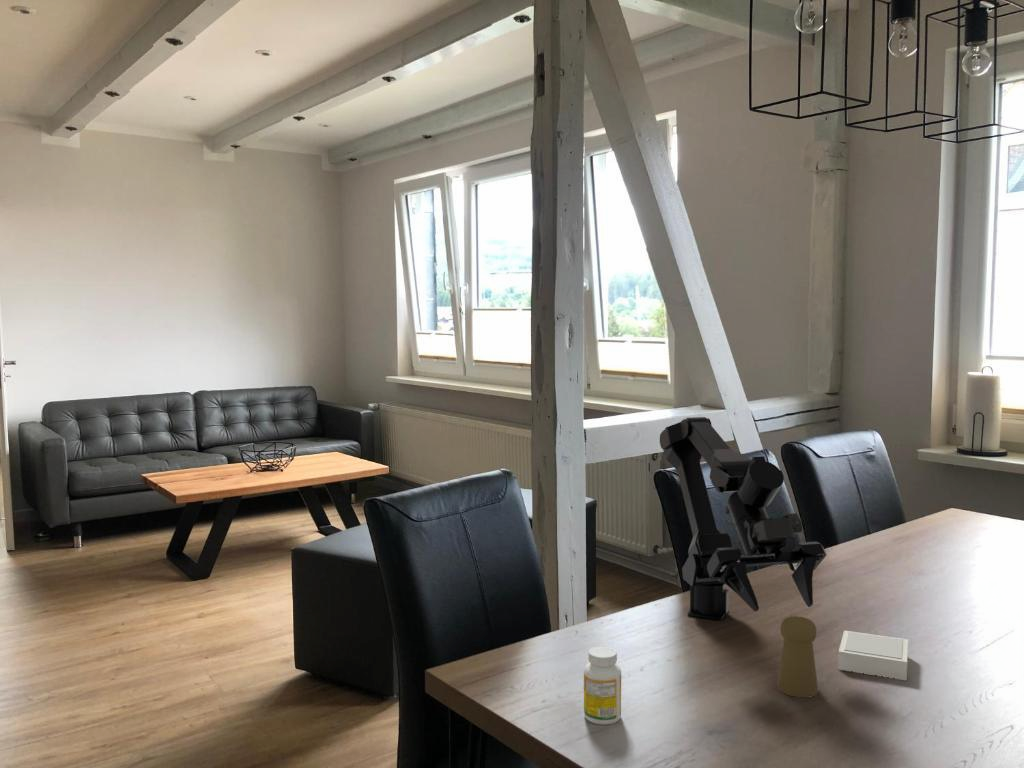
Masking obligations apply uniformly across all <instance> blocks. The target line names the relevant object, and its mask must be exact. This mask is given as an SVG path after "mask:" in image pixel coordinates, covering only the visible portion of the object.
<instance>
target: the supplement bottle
mask: <svg viewBox="0 0 1024 768" xmlns="http://www.w3.org/2000/svg"><path fill="white" fill-rule="evenodd" d="M617 656H618V655H617V650H615V649H614V648H611V647H607V646H595V647H594V646H593V647H591V648H590V649H589V650H588V657H587V659H588V663H587V664H586V665H585V666H584V668H583V669H584V670H583V713H584V717H585V719H586V720H587V721H589V722H591V723H592V724H595V725H601V726H603V725H604V726H605V725H611V724H615V723H617V722H618V721H619V720H620V719H621V716H622V670H621V667H620V666H619V665H618V664H617V661H618V657H617Z"/></svg>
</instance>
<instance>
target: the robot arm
mask: <svg viewBox="0 0 1024 768" xmlns="http://www.w3.org/2000/svg"><path fill="white" fill-rule="evenodd" d="M659 445H660V448H661V449H662V451H663V454H664V457H665V459H666V461H667V463H669V465H671V466H672V467H673V468H674V469H675V470H676V472H677V476H678V480H679V484H680V488H681V492H682V497H683V499H684V505H685V509H686V512H687V517H688V521H689V524H690V525H689V526H690V528H691V533H692V539H691V542H690V545H689V548H688V549H687V553H688V557H687V559H686V561H685V563H684V564H683V566H682V567H681V568H682V569H681V572H682V573H681V574H682V579H683V581H685V582H686V583H687V584H689V598H690V599H689V610H688V611H687V616H691V617H697V618H704V619H711V620H712V619H713V620H718V621H721V620H723V618H724V617H725V615H727V614H728V612H729V610H730V589H731V590H732V591H733V592H735V593H736V595H737V596H739V598H741V599H742V600H743V602H745V604H747V605H748V607H750V608H751V610H752V611H754V612H758V610H760V606H759V603H758V600H757V596H756V595H755V591H754V589H753V587H752V584H751V582H750V579H749V576H748V570H747V568H749V567H750V568H751V567H759V566H761V567H762V566H775V565H787V564H788V567H789V569H790V570H791V571H792V572H793V573H792V574H791V577H792V580H793V581H794V583H795V585H796V588H797V590H798V591H799V593H800V596H801V598H802V600H803V601H804V603H805V604H806V606H807V607H808V608H811V607H812V606H813V602H814V597H813V596H814V592H813V574H814V571H815V570H816V569H817V567H819V565H820V564H821V563H822V561H823V560H824V559H825V558H826V556H827V555H828V554H827V552H826V550H825V548H824V546H823V545H822V543H820V542H819V541H804V542H797V544H795V546H794V547H793V549H792V550H791V551H782V550H781V549H782V548H785V547H786V546H787V545H788V543H787V540H789V539H794V538H795V535H798V534H800V533H802V532H803V529H804V527H803V523H802V520H801V518H800V516H799V515H798V513H787V514H786V515H783V516H782V517H778V518H773V517H771V518H770V517H769V515H768V513H767V510H766V507H768V506H769V505H770V504H771V503H772V501H773V500H774V498H775V496H776V495H777V494H778V493H779V490H780V489H781V487H782V486H783V484H784V480H785V477H784V473H783V471H782V470H780V469H779V467H778V466H776V465H775V464H774V463H771V462H770V461H767V460H766V458H765V456H763V455H762V456H752V458H749V457H748V456H747V455H745V454H744V453H741V452H738V451H734V450H733V449H731V447H730V446H729V445H728V444H727V442H726V441H725V440H724V439H723V437H722V436H721V435H720V434H719V433H718V432H717V430H716V429H715V428H714V427H713V425H712V421H711V419H710V418H707V417H705V416H699V417H698V416H696V417H695V416H693V417H692V416H691V417H686V418H684V419H682V420H681V421H680V422H677V423H674V424H671V425H669V426H666V427H665V428H664V430H662V431H661V433H660V435H659ZM702 458H703V459H704V461H705V462H706V464H707V465H708V466H709V468H710V472H709V479H710V482H711V484H712V486H713V487H714V488H715V490H716V491H717V493H720V494H723V493H724V494H725V493H731V495H730V496H729V497H728V500H727V502H726V506H725V508H724V509H725V510H724V513H725V515H730V517H731V518H732V522H733V524H734V527H735V530H736V532H737V534H736V535H735V537H734V538H735V541H736V543H737V544H738V543H740V544H741V547H742V549H743V553H744V554H742V551H741V549H740V548H739V547H737V546H733V545H732V540H731V537H730V535H729V533H726V532H725V533H724V532H723V533H722V532H721V531H720V530H719V528H718V527H717V523H716V520H715V515H714V512H713V507H712V503H711V500H710V497H709V492H708V488H707V485H706V481H705V476H704V471H703V470H702V469H703V468H702V466H701V459H702ZM727 587H728V588H730V589H728V588H727Z"/></svg>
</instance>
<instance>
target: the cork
mask: <svg viewBox="0 0 1024 768" xmlns="http://www.w3.org/2000/svg"><path fill="white" fill-rule="evenodd" d="M780 635H781V636H782V638H783V645H782V652H781V658H780V664H779V665H780V666H779V670H778V671H779V672H778V678H777V683H776V684H777V685H776V688H777V690H778V691H779V692H781V693H782V692H783V693H782V694H784V693H785V694H784V695H786V694H787V695H786V696H789V695H790V697H793V696H795V697H794V698H800V697H807V698H810V697H809V696H813V695H815V696H817V694H819V689H818V687H819V685H818V680H817V670H816V663H815V662H816V659H815V654H814V652H815V651H814V645H813V642H814V641H815V640H816V637H817V627H816V624H815V623H814V621H812V620H811V619H809V618H807V617H804V616H799V615H797V616H794V615H793V616H788V617H785V618H784V619H782V621H781V624H780ZM796 696H797V697H796ZM813 697H814V696H813Z"/></svg>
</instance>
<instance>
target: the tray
mask: <svg viewBox="0 0 1024 768" xmlns="http://www.w3.org/2000/svg"><path fill="white" fill-rule="evenodd" d="M838 648H839V649H838V662H837V663H838V666H837V667H838V668H837V669H839V671H844V670H845V672H851V671H852V673H856V674H857V673H858V674H863V673H864V675H871V676H875V675H877V677H881V676H883V677H884V678H887V677H889V678H888V679H893V678H895V679H894V680H899V681H900V680H901V681H906V680H907V677H908V661H909V659H908V658H909V639H907V638H902V637H901V638H900V637H899V638H898V637H894V636H893V637H892V636H886V635H878V634H872V633H864V632H858V631H851V630H843V634H842V637H841V642H840V645H839V647H838Z"/></svg>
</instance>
